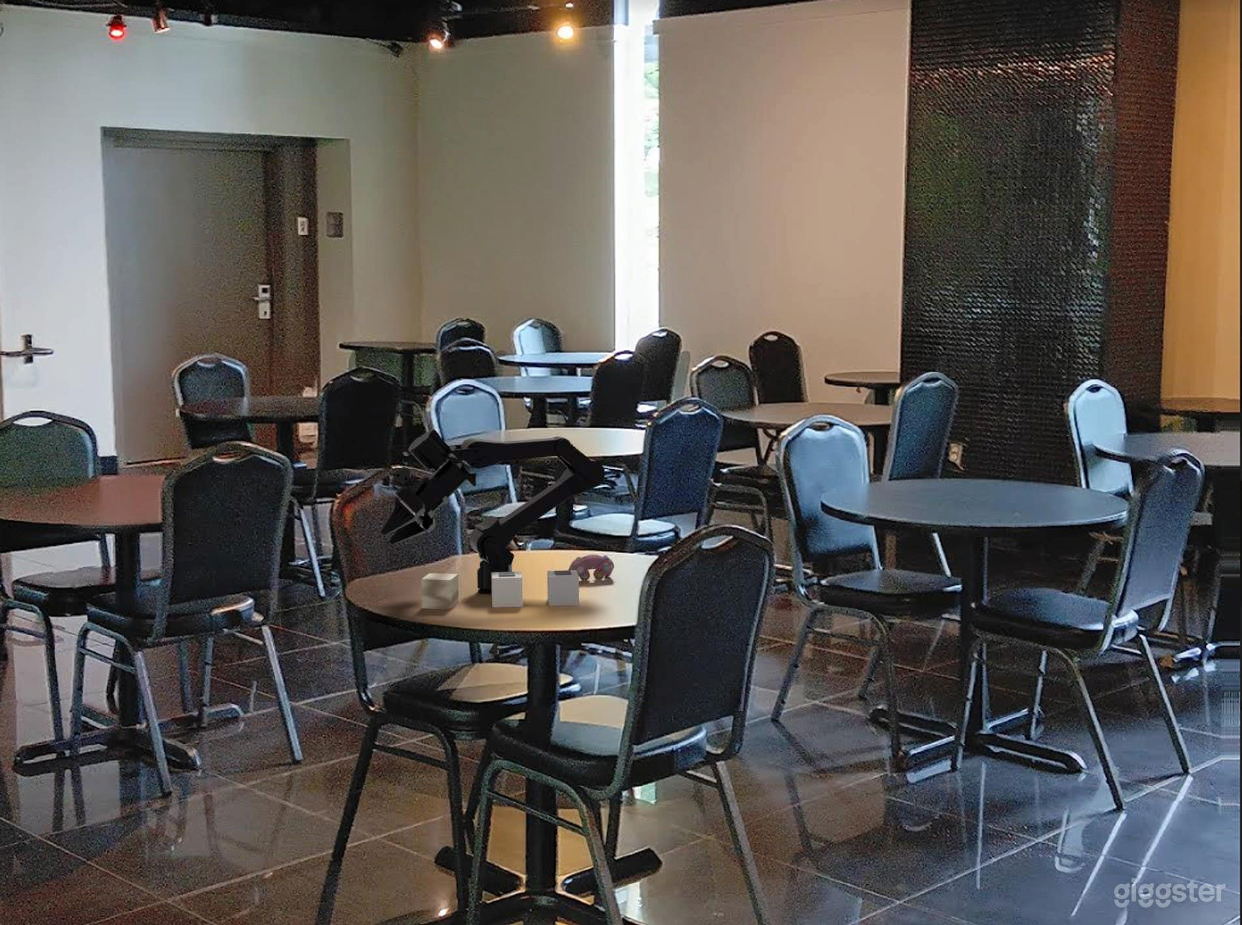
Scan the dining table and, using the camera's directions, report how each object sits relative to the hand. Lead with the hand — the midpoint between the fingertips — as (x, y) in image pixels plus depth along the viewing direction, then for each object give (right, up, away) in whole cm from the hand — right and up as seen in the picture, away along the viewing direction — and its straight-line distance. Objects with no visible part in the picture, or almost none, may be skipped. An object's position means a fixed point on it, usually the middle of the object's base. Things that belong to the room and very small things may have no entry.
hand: (386, 538), depth 314 cm
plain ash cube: (+12, -13, -4) cm, 18 cm away
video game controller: (+42, -10, +21) cm, 47 cm away
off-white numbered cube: (+25, -13, -3) cm, 28 cm away
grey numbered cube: (+36, -13, -1) cm, 38 cm away
